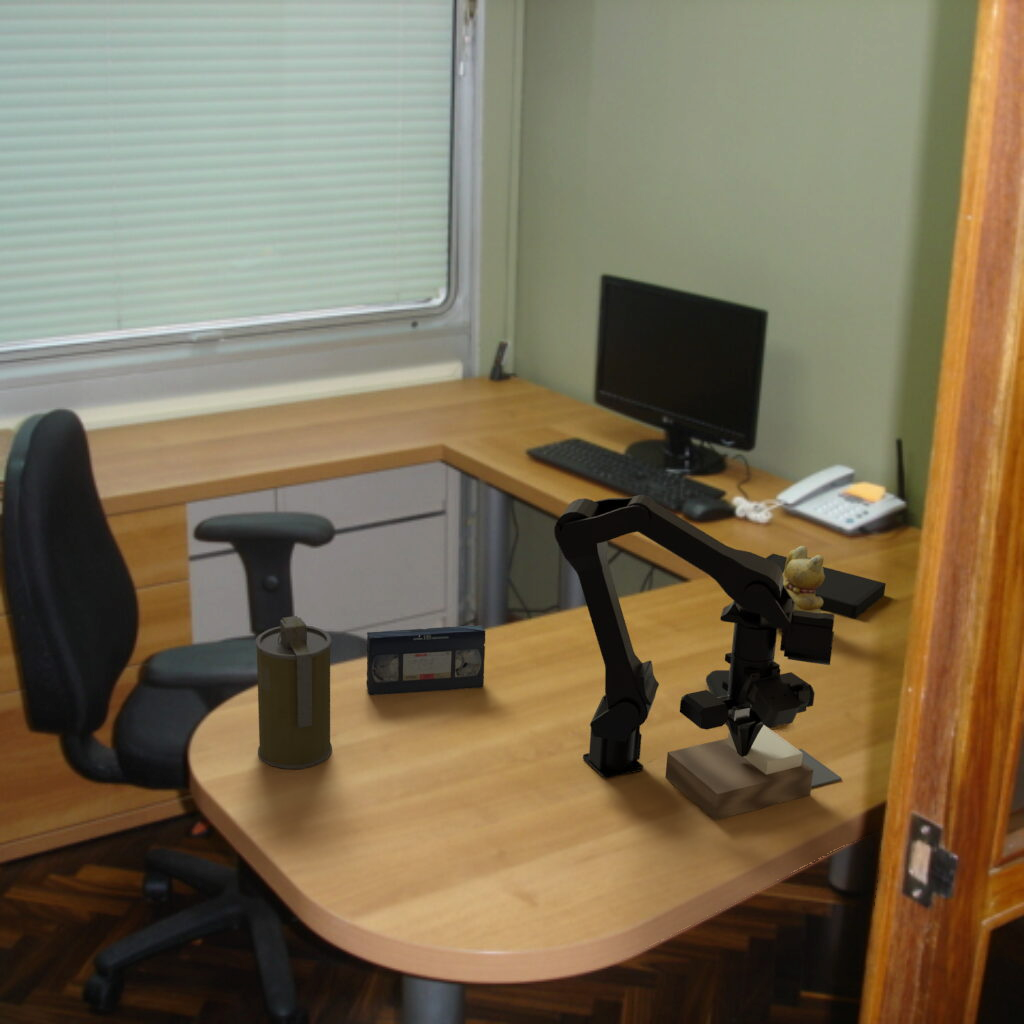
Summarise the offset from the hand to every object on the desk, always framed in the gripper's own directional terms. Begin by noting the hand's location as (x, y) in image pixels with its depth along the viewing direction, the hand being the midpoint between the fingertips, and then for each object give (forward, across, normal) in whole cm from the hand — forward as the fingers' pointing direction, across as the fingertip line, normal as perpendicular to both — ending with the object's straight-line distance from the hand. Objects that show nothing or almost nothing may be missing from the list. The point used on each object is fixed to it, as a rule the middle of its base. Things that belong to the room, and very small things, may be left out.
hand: (742, 755), depth 190 cm
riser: (+5, 0, 0) cm, 5 cm away
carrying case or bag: (+5, +16, +20) cm, 26 cm away
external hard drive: (+5, +55, +53) cm, 77 cm away
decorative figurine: (+5, +40, +40) cm, 57 cm away
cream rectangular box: (+1, +4, 0) cm, 4 cm away
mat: (+5, +11, 0) cm, 12 cm away
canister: (+5, -54, +33) cm, 63 cm away
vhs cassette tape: (+5, -29, +44) cm, 53 cm away
